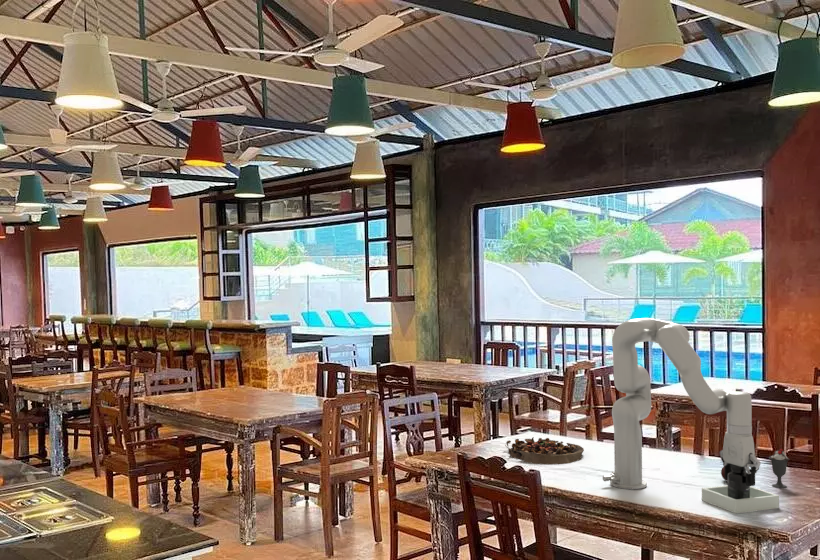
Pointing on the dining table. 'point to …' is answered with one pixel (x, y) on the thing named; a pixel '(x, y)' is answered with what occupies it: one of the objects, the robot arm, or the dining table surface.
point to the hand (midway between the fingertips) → (739, 482)
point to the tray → (754, 503)
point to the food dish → (545, 451)
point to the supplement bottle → (738, 483)
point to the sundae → (779, 466)
